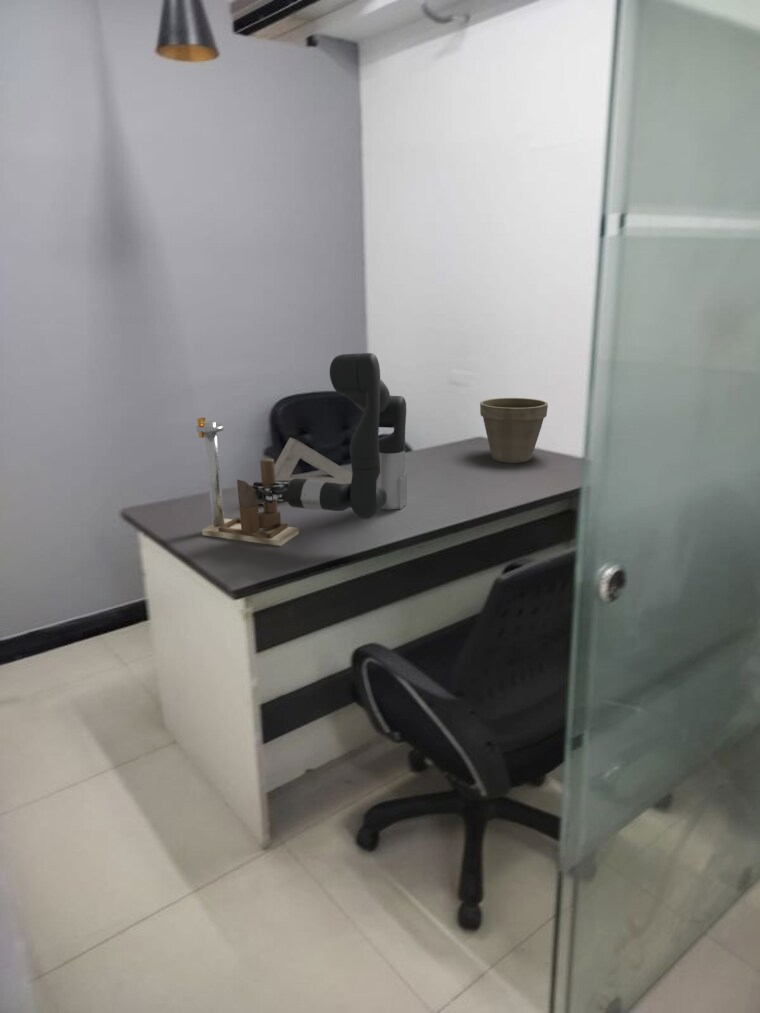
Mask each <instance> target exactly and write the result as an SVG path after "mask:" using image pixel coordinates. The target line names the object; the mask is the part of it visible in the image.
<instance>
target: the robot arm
mask: <svg viewBox="0 0 760 1013" xmlns="http://www.w3.org/2000/svg"><path fill="white" fill-rule="evenodd" d="M329 378H330V382H331V385H332V387H333V389H334V391H335V392H336V393H337V394H339V395H341V396H343V397H345V398H347V399H349V400H350V401H351V402H352V403H354V405H355V406H356V407H357V408H359V410H360V411H362V412H363V414H362V417H361V419H360V421H359V423H358V425H357V427H356V428H355V431H354V433H353V435H352V437H351V439H350V440H351V441H350V443H349V456H350V464H351V471H352V472H351V473H352V480H351V483H349V484H338V483H329V482H323V481H319V480H309V479H299V478H294V479H292V480H279V481H275V482H274V483H271V484H270V485H268V486H267V487H263V483H262V481H261V482H260V481H255V482H253V483H252V484H253V485H250V486H251V487H253V488H254V489H255V490H256V492H257V499H260V500H262V501H265V502H268V503H273V499H275V500H277V502H278V501H279V502H283V501H284V502H285V501H286V502H287V504H288V505H289V506H290V507H292V508H298V509H307V510H315V511H316V510H317V511H319V510H323V511H332V512H343V511H345V510H347V509H349V508H351V510H352V512H353V513H354V515H355V516H356V517H358V518H360V519H363V520H368V519H371V518H373V517H375V516H376V515H377V514H378V513H379V511H381V510H401V509H403V508H404V507H405V506H406V505H407V504H408V474H407V473H406V426H407V425H406V423H407V420H406V419H407V402H406V399H405V398H404V396H401V395H391V394H390V390H389V388H388V387H387V384H385V383H384V381H383V380H382V379H381V368H380V363H379V359H378V357H377V356H376V354H374V353H373V352H372V353H371V352H363V353H360V352H359V353H344V354H339V355H337V356H335V357H334V358H333V359H332V361H331V363H330V366H329ZM380 428H388V429H389V428H390V429H391V428H393V432H392V433H389V434H388V435H386V436H383V437H379V429H380Z"/></svg>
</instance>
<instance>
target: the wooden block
mask: <svg viewBox="0 0 760 1013" xmlns="http://www.w3.org/2000/svg"><path fill="white" fill-rule="evenodd" d="M259 460H260V461H259V463H260V475H261V476H260V477H261V482H262V483H263V487H267V486H268V485H270V484H271V483H274V482H275V468H274V465H275V460H274V458H270V457H264V458H261V459H259ZM236 482H237V483H236V486H237V496H238V505H239V515H240V516H239V518H241V530H242V531H244V532H247V533H253V532H256V531H259V530H260V528H267V527H270V526H273V525H276V524H279V523H282V520H281V519H282V518H281V511H280V510H278V500H275V499H273V503H268V502H265V501H262V500H260V499H257V492H256V490H255V489H254V488H253V487H251V486H252V485H250V484H249V483H248V482H247V481H245V480H242V479H238V478H237V479H236ZM261 503H263V504H262V505H263V511H260V512H259V505H261Z"/></svg>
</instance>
